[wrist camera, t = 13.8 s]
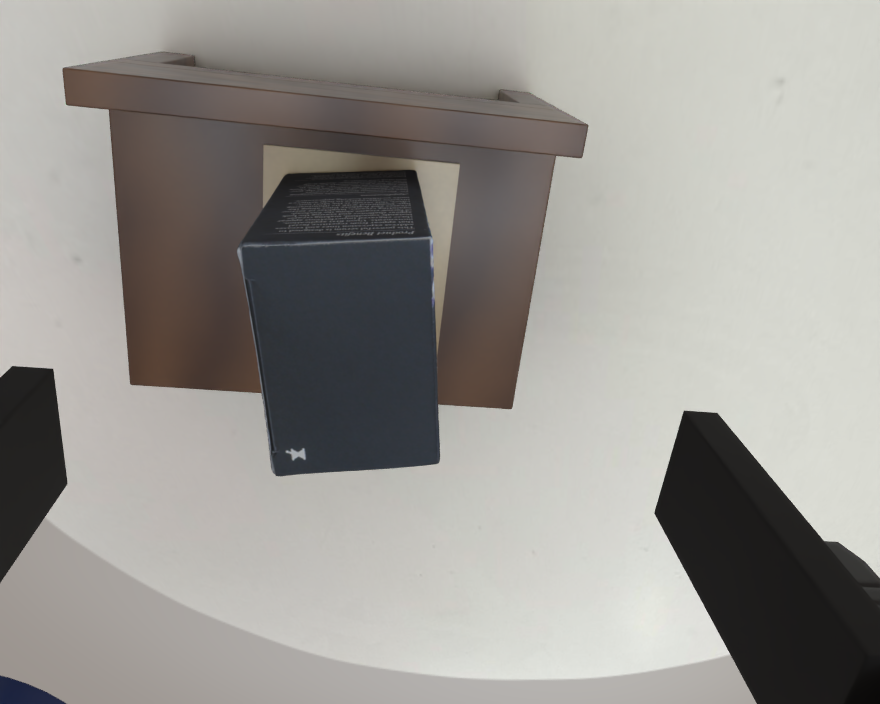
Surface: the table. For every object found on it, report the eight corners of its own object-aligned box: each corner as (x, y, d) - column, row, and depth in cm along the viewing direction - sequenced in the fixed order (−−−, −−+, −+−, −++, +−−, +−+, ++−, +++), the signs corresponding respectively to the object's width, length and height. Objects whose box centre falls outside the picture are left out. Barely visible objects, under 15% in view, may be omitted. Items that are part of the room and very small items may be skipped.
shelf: (173, 322, 40) (98, 430, 30) (160, 51, 34) (61, 67, 24) (491, 345, 42) (526, 454, 32) (530, 92, 36) (589, 124, 26)
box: (425, 338, 33) (441, 470, 23) (301, 344, 33) (266, 480, 23) (419, 165, 30) (436, 236, 20) (281, 169, 29) (230, 244, 20)
